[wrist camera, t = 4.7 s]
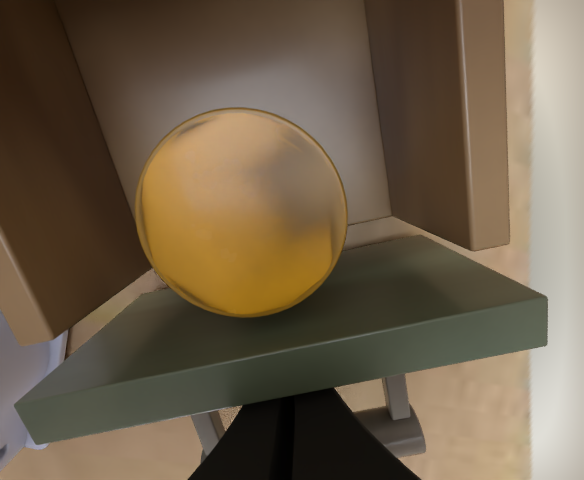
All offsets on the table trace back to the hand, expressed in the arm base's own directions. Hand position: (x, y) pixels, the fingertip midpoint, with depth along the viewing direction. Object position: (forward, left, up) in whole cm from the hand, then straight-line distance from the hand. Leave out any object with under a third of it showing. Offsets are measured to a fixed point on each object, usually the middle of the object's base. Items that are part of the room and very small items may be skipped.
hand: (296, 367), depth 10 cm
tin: (+5, +3, -1) cm, 6 cm away
